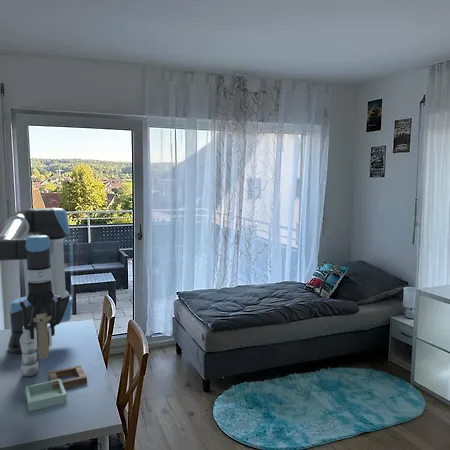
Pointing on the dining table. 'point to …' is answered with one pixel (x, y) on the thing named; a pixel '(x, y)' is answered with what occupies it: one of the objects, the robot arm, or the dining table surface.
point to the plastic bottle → (28, 354)
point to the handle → (42, 335)
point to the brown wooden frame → (68, 383)
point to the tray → (45, 395)
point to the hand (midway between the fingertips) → (43, 346)
